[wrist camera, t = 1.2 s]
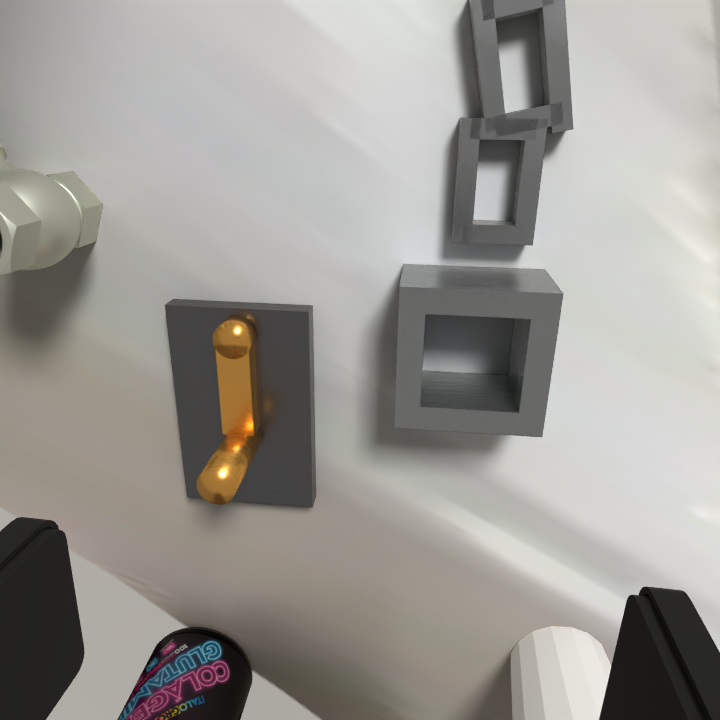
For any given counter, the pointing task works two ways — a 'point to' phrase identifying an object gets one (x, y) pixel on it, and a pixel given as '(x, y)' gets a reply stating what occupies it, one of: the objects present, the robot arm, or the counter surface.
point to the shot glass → (558, 675)
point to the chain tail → (511, 119)
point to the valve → (43, 217)
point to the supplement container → (192, 679)
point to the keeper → (245, 400)
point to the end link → (466, 390)
